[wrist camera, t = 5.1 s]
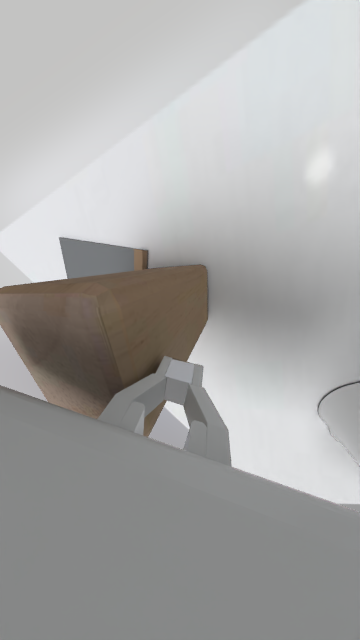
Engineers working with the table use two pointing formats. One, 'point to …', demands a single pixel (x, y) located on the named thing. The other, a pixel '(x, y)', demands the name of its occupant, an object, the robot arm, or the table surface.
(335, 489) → the table surface
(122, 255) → the mat
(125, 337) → the wooden block
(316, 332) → the table surface
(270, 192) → the table surface
